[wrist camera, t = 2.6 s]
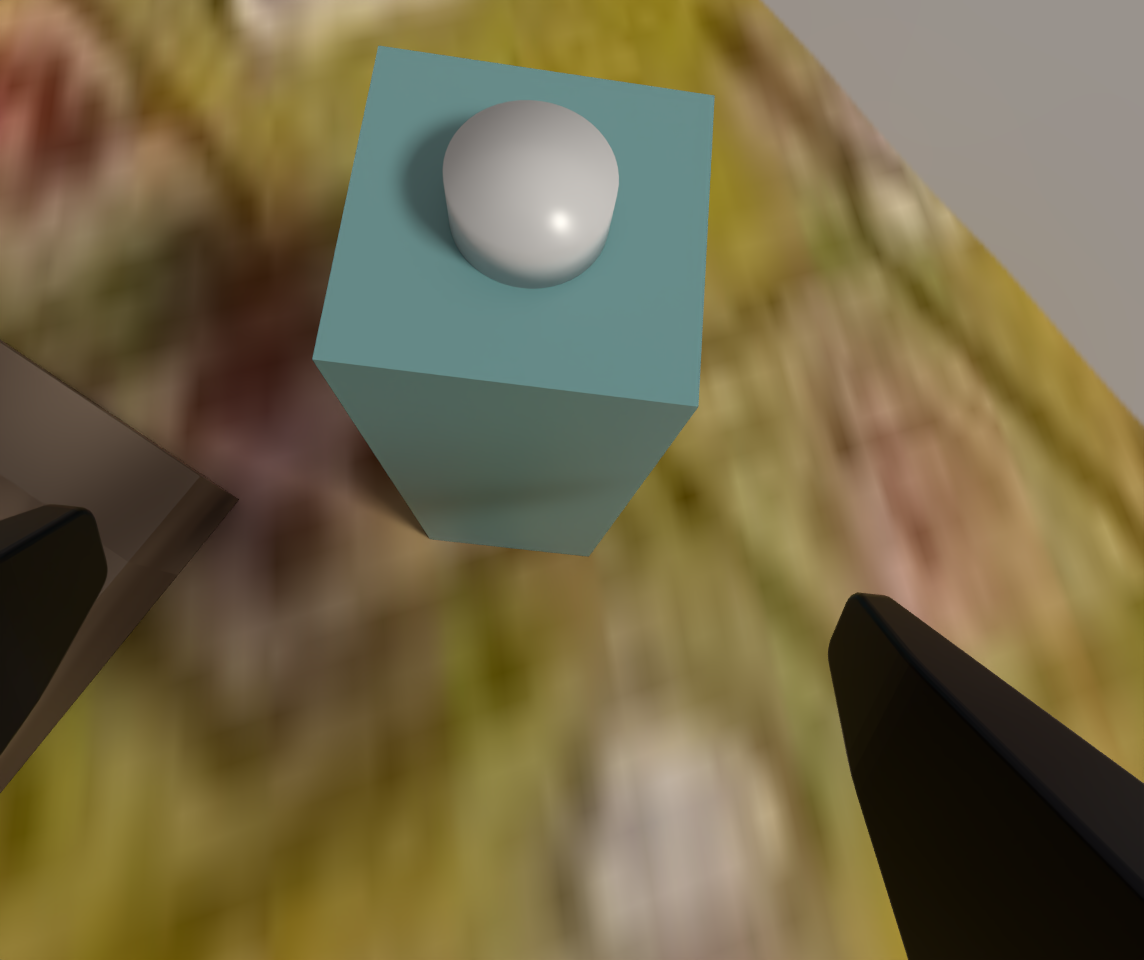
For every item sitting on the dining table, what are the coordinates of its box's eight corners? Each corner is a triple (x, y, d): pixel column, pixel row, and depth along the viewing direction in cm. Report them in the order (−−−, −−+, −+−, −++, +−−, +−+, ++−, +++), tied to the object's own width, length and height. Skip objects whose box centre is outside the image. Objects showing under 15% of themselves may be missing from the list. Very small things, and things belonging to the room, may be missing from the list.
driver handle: (588, 556, 20) (717, 379, 7) (429, 539, 20) (290, 326, 7) (602, 408, 21) (732, 45, 9) (452, 390, 21) (366, -12, 8)
